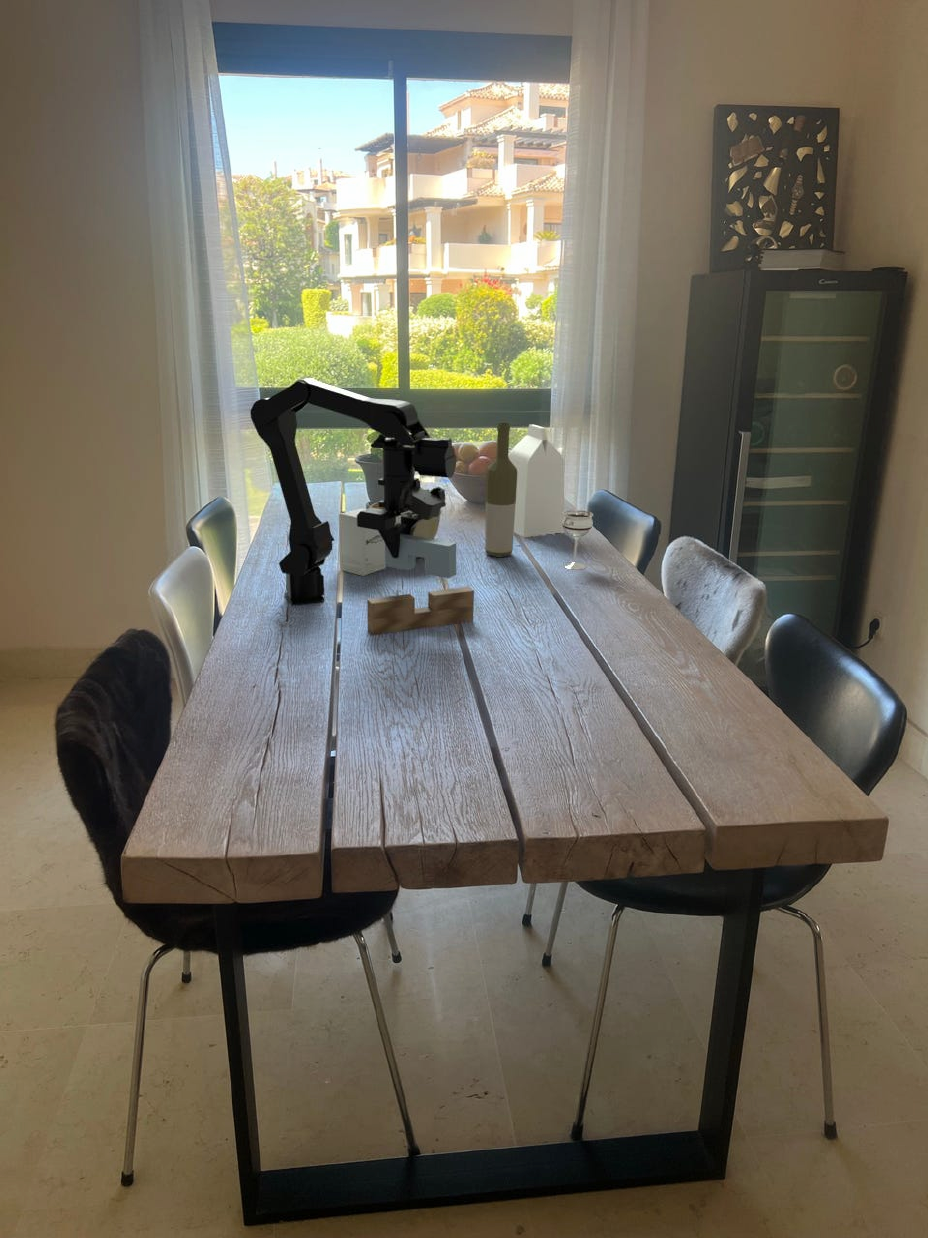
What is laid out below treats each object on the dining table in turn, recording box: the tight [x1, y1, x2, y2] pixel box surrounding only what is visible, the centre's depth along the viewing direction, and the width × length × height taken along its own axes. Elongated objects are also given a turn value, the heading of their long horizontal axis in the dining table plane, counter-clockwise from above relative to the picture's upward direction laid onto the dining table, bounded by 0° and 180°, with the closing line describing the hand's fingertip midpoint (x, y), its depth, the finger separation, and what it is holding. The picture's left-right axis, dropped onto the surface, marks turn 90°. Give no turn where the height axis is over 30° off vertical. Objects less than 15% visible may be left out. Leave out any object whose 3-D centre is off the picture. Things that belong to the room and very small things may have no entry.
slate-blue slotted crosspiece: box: [385, 534, 457, 579], centre depth 174 cm, size 14×2×6 cm, turn 60°
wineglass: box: [562, 509, 594, 570], centre depth 209 cm, size 7×7×12 cm
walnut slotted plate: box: [366, 586, 475, 636], centre depth 173 cm, size 20×2×6 cm, turn 115°
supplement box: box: [338, 508, 387, 577], centre depth 203 cm, size 7×7×13 cm
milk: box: [508, 423, 566, 538], centre depth 235 cm, size 12×12×26 cm
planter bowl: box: [369, 501, 442, 559], centre depth 215 cm, size 16×16×11 cm
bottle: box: [484, 422, 518, 558], centre depth 213 cm, size 7×7×30 cm
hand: (399, 556), depth 176 cm, fingers closed on slate-blue slotted crosspiece, 2 cm apart
